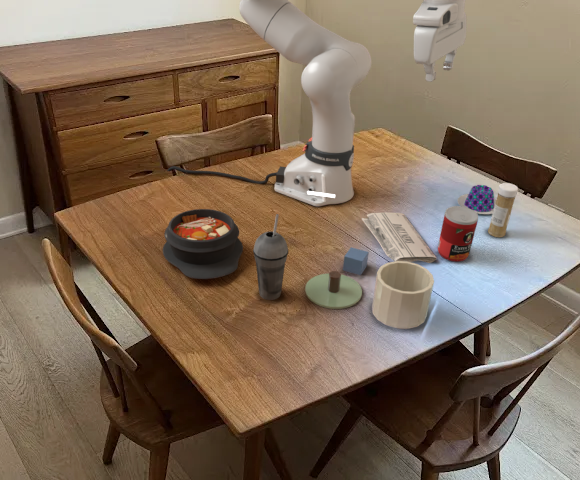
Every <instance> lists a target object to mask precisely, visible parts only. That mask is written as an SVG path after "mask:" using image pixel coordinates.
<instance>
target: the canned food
mask: <svg viewBox="0 0 580 480" xmlns="http://www.w3.org/2000/svg"><path fill="white" fill-rule="evenodd" d="M478 221H479V215H478V213H476V212H475V211H473V210H471V209H469V208H466V207H462V206H460V205H453V206H449V207H448V208H446V209H445V212H444V215H443V220H442V225H441V230H440V233H439V234H440V235H439V240H438V244H437V253H438V255H439V256H440V257H442V258H443V259H445V260H447V261H449V262H454V263H455V262H464V261H466V260H467V259H468V258H469V255H470V253H471V249H472V245H473V242H474V237H475V233H476V229H477V226H478Z"/></svg>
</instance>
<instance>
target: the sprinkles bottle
mask: <svg viewBox="0 0 580 480" xmlns="http://www.w3.org/2000/svg"><path fill="white" fill-rule="evenodd" d="M518 192H519V187H518V186H517V185H515V184H513V183H510V182H503V183H500V184H499V185H498V189H497V196H496V198H495V199H496V203H495V206H494V210H493V214H491V217H490V223H489V227H488V229H487V233H488V234H489V235H490V236H492V237H494V238H503V237H505V236H506V235H507V228H508V225H509V222H510V220H511V219H510V218H511V216H512V210H513V207H514V203H515V200H516V197H517V196H518Z"/></svg>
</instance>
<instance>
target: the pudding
mask: <svg viewBox="0 0 580 480" xmlns="http://www.w3.org/2000/svg"><path fill="white" fill-rule="evenodd" d="M496 199H497V198H495V191H494V189H492V187H490V186H488V185H486V184H477V185H473V186H472V188H471V189H470V190H469V192H468V193H464V194H462V195H459V196H458V198H457V204H458V206H462V207H466V208H469V209H471V210H473V211H475V212H476V213H477V214H479V215H492V214H493V210H494V206H495V203H496Z"/></svg>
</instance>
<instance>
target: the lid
mask: <svg viewBox="0 0 580 480" xmlns="http://www.w3.org/2000/svg"><path fill="white" fill-rule="evenodd" d="M304 292H305V295H306V297H307V299H308V300H309V301H310V302H312V303H313V304H315V305H317V306H319V307H321V308H325V309H331V310H342V309H348V308H350V307H353V306H355V305H357V303H359V301H360V300H361V299H362V296H363V289H362V287H361V285H360V284H359V282H358V281H356V279H354V278H352V277H350V276H348V275H344V274H342V273H341V272H339V271H337V270H332V271H330V272H329V273H328V272H327V273H320V274H318V275H315V276H313V277H311V278H310V279H308V281H307V282H306V283H305V287H304Z"/></svg>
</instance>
